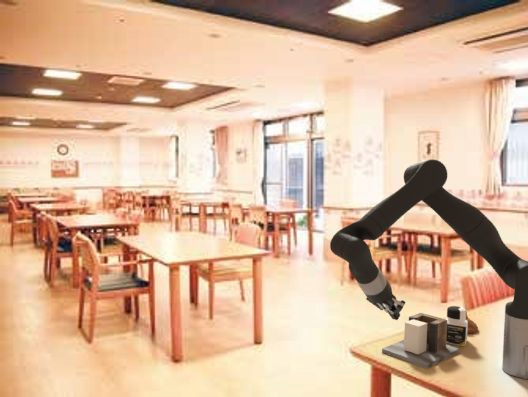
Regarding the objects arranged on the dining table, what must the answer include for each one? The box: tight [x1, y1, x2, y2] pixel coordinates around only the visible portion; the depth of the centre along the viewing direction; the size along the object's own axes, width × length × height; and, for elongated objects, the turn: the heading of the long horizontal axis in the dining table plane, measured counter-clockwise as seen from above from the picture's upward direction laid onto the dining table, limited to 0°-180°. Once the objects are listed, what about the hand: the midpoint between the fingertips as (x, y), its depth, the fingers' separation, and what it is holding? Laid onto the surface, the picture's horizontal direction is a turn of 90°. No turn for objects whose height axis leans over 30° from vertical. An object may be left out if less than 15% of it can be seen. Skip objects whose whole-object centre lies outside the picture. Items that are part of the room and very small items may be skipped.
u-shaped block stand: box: [381, 312, 460, 369], centre depth 154 cm, size 20×16×10 cm
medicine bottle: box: [445, 305, 469, 347], centre depth 164 cm, size 7×7×12 cm
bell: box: [466, 311, 479, 335], centre depth 177 cm, size 12×12×7 cm
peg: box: [403, 319, 427, 355], centre depth 151 cm, size 5×5×9 cm
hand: (396, 317), depth 143 cm, fingers closed
